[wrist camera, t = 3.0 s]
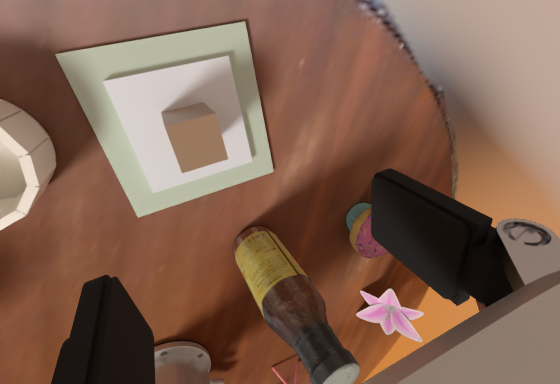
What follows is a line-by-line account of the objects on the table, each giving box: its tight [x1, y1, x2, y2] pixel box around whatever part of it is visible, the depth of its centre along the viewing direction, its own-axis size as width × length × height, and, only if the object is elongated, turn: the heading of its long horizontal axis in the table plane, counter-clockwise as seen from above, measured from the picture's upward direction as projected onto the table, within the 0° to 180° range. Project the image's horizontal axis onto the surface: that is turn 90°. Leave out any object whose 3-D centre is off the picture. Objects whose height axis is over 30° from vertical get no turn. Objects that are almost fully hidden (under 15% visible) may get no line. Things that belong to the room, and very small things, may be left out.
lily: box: [356, 287, 424, 342], centre depth 53 cm, size 12×12×10 cm
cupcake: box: [346, 203, 388, 258], centre depth 39 cm, size 9×8×12 cm
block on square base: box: [103, 56, 253, 193], centre depth 25 cm, size 11×11×7 cm
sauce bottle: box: [233, 226, 360, 384], centre depth 30 cm, size 6×6×20 cm
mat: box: [55, 22, 274, 218], centre depth 28 cm, size 16×16×1 cm
